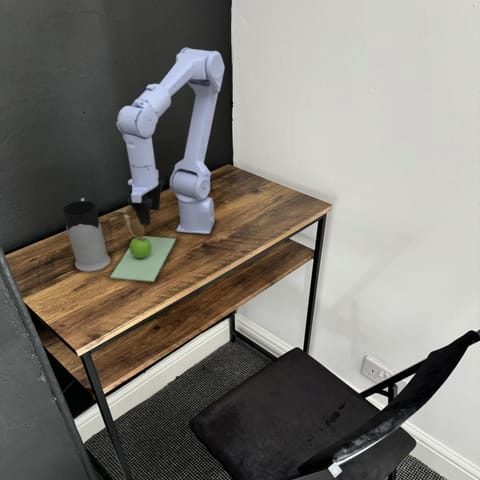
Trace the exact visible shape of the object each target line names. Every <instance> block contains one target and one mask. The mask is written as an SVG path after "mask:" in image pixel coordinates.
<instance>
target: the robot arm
mask: <svg viewBox="0 0 480 480" xmlns="http://www.w3.org/2000/svg"><path fill="white" fill-rule="evenodd" d="M175 57H176V58H175V63H174V64H173V66H172V68H171V69H169V71H168V73H167V74H166V75H165V76H164V78H163V79H162V80H161V81H160V82H159V83H152V84H148V85H147V86H145V87H146V89H145V90H144V91H143V92H142V93H141V94H140V96H138V97H137V98H136V99H135V100H134V101H133V103H132V104H131V105H125V106H124V107H122V108H121V109H120V110H119V112H118V114H117V122H115V123H116V127H117V129H118V131H119V132H120V134H122V139H123V141H124V142H125V147H126V151H127V158H128V162H129V168H130V175H131V178H130V179H129V180H128V181H127V184H128V186H131V189H132V191H131V192H132V193H131V194H130V196H129V197H128V198H127V203H128V205H129V207H131V208H132V209H133V211H134V212H135V215H136V216H137V218H138V219H137V220H138V221H140V223H141V225H143V226H150V225H151V220H152V219H151V218H152V217H151V211H159V210H160V206H161V197H162V196H161V195H162V190H163V188H164V184H165V181H164V179H159V177H160V176H159V169H157V167H156V161H155V153H154V147H153V139H152V138H153V137H152V136H153V135H154V133H155V130H156V125H157V124H158V121H159V118H161V116H162V115H163V114H164V113H165V112H166V111H167V110H168V108H170V106H171V104H172V99H171V97H172V96H173V95H175V94H176V93H177V92H178V91H179V90H180V89H181V88H182V87H183V86H185V84H187V85H188V86H189V88H191V89H192V90H193V92H194V94H195V98H194V104H193V109H192V114H191V119H190V125H189V129H188V135H187V140H186V145H185V150H184V156H183V159H181V160H179V161H178V162H177V163H175V164H174V169H173V171H172V173H171V176H170V178H169V189H170V191H171V192H172V193H174V196H175V198H176V199H177V203H178V204H177V205H178V212H179V224H178V226H177V228H176V233H186V234H187V233H189V234H202V235H210V234H211V232H212V228H213V226H214V224H215V221H216V220H215V206H214V205H215V204H214V199H213V198H212V197H208V195H209V194H210V191H211V176H212V173H211V171H210V169H208V167H207V165H206V164H205V158H206V154H207V149H208V145H209V140H210V135H211V130H212V124H213V120H214V115H215V109H216V105H217V100H218V94H219V92H221V88H222V83H223V77H224V74H225V68H226V67H225V64H224V61H223V57H222V55H221V53H220V52H219V51H217V50H212V51H211V50H204V49H197V48H196V49H194V48H190V47H183V48H182V49H181V50H180V52H179V53H177V54H176V56H175Z"/></svg>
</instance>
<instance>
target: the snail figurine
mask: <svg viewBox="0 0 480 480" xmlns="http://www.w3.org/2000/svg"><path fill="white" fill-rule="evenodd" d="M121 212H122V214H123V219H124V221H125V224H126V227H127V229H128V231H129V234H131V235H132V236H133V237H134V238H132V240H131V241H130V243H129V247H130V251H131V253H132V254H133V255H134V256H135V257H137V258H145V257H147V256H148V255H149V254H150V252H151V243H150V241H149V240H148V239H147V238H145V227H144V225H141V223H140V221H139V219H132V220H131V219H130V218H131V217H130V215H128V214H125V213H127V209H124V210H122V211H121Z"/></svg>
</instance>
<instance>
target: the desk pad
mask: <svg viewBox="0 0 480 480" xmlns="http://www.w3.org/2000/svg"><path fill="white" fill-rule="evenodd" d="M144 236H145V235H144ZM145 238H147V239H148V240H149V241H150V243H151V252H150V254H149V255H148V256H147V257H145V258H137V257H135V256H134V255H133V254H132V253H131V251H130V246H129V247H128V249H127V251H126V252H125V253H124V255H123V257H122V258H121V260H120V261H119V263H118V264H117V266H116V267H115V269H114V270H113V272H112V273H111V274H110V276H109V278H110V279H116V280H126V281H135V282H136V281H137V282H149V283H154V282H155V281H156V278H157V277H158V275H159V273H160V271H161V269H162V267H163V266H164V263H165V261H166V260H167V258H168V256H169V254H170V252H171V250H172V249H173V246H174V244H175V243H176V240H177V239H176V238H173V237H172V238H170V237H157V236H145Z"/></svg>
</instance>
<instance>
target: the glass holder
mask: <svg viewBox="0 0 480 480" xmlns="http://www.w3.org/2000/svg"><path fill="white" fill-rule="evenodd" d="M62 213H63V217H64V221H65V224H66V230H67V234H68V238H69V241H70V244H71V245H70V246H71V248H72V251H73V255H74V259H75V268H76V269H78V270H79V271H82V272H95V271H100V270H102V269H104V268H106V267H107V266H108V265H109V264H110V263H111V258H110V256H109V254H108V250H107V247H106V242H105V238H104V233H103V229H102V224H101V222H100V219H99V215H98V211H97V207H96V204H95V203H94V202H93V201H89V200H86V198H85V197H82V198H80V200H78V201H77V200H76V201H73V202H70V203H68V204H66V205H64V207H62Z"/></svg>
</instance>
